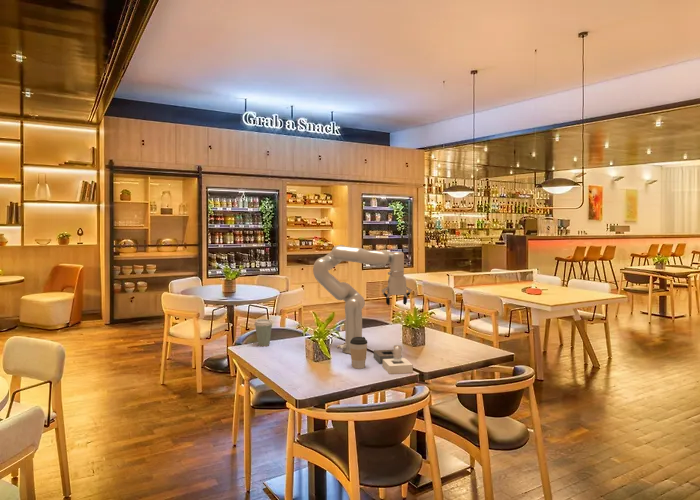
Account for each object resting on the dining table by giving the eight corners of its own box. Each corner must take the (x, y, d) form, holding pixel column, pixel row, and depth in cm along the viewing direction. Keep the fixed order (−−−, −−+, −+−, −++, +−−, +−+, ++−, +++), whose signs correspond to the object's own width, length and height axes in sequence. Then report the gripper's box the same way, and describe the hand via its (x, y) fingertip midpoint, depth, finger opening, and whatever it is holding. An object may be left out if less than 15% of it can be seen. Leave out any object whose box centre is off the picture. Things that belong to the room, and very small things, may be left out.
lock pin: (394, 371, 244) (395, 347, 243) (392, 368, 248) (392, 345, 247) (402, 370, 245) (402, 347, 244) (399, 368, 249) (400, 345, 248)
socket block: (389, 374, 239) (389, 366, 239) (382, 366, 251) (382, 359, 251) (412, 372, 242) (412, 364, 242) (404, 365, 254) (404, 357, 253)
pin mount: (379, 364, 256) (379, 356, 256) (373, 357, 267) (373, 350, 267) (401, 362, 258) (401, 355, 258) (394, 356, 270) (394, 349, 270)
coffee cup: (354, 370, 245) (355, 340, 244) (346, 365, 253) (346, 336, 252) (370, 367, 249) (370, 338, 248) (361, 363, 257) (362, 334, 256)
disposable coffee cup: (276, 344, 292) (276, 319, 292) (263, 348, 283) (263, 323, 282) (263, 342, 298) (263, 317, 297) (250, 345, 289) (250, 320, 288)
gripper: (384, 275, 266) (383, 306, 267) (414, 274, 270) (413, 305, 271) (380, 273, 273) (379, 303, 274) (409, 273, 277) (408, 302, 278)
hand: (396, 304), depth 273 cm, fingers open, 9 cm apart
